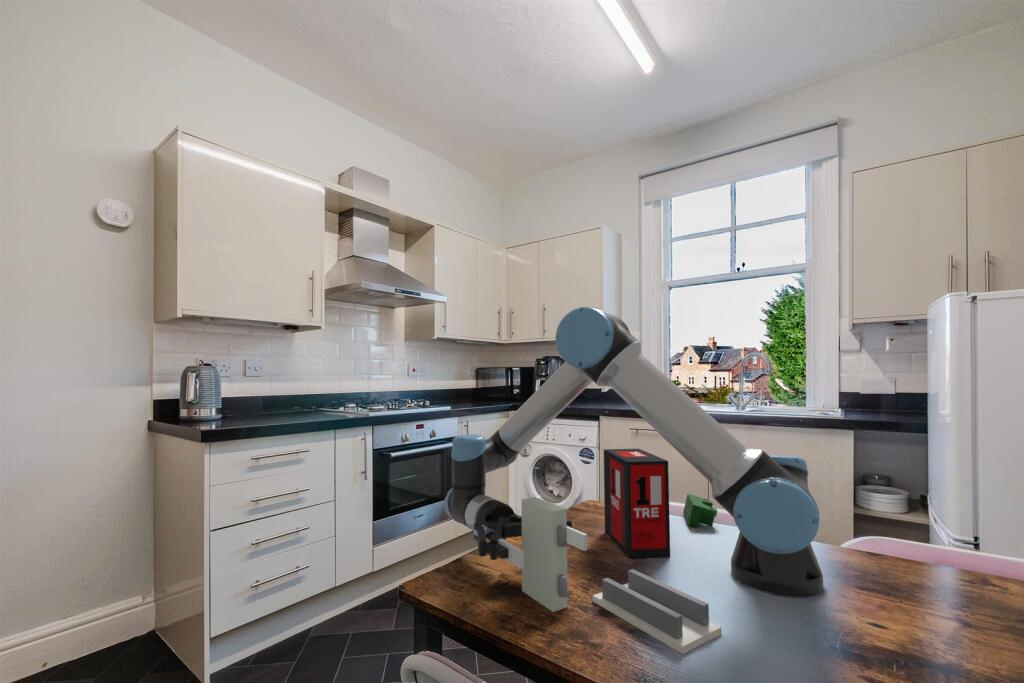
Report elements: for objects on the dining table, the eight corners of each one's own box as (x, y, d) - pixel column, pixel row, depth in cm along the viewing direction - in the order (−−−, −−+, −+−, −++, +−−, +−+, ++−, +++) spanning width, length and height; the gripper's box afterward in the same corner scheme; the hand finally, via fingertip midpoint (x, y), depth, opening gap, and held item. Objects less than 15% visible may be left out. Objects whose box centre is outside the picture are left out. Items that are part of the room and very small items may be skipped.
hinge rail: (592, 601, 80) (592, 577, 81) (630, 588, 85) (629, 565, 86) (682, 654, 65) (682, 624, 66) (721, 634, 70) (720, 606, 71)
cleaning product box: (670, 557, 99) (668, 461, 101) (629, 559, 98) (627, 462, 100) (640, 531, 116) (638, 448, 117) (604, 532, 115) (603, 449, 116)
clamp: (708, 545, 119) (719, 516, 115) (683, 537, 120) (693, 509, 117) (705, 513, 129) (715, 487, 126) (683, 507, 131) (692, 480, 127)
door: (521, 590, 84) (521, 499, 85) (535, 586, 86) (535, 496, 87) (558, 615, 76) (557, 513, 77) (572, 610, 77) (571, 510, 78)
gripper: (539, 525, 104) (609, 557, 86) (434, 549, 90) (491, 592, 72) (539, 491, 104) (608, 515, 86) (434, 509, 91) (491, 542, 73)
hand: (555, 550), depth 79 cm, fingers open, 13 cm apart
